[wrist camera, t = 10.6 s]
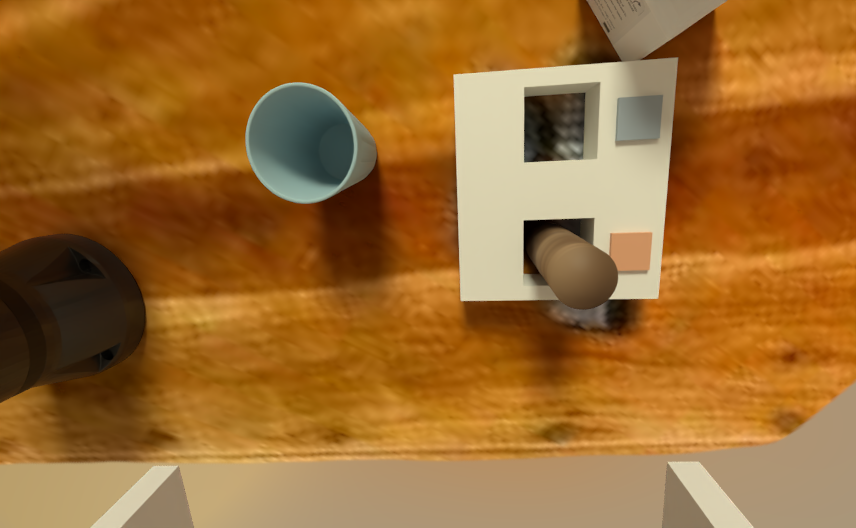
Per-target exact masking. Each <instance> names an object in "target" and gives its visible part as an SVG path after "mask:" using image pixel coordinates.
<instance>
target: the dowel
mask: <svg viewBox="0 0 856 528" xmlns="http://www.w3.org/2000/svg"><path fill="white" fill-rule="evenodd" d="M526 251H527V254H528V256H529V257H530V259H531V260H532V262H533V263H534V265H535V266H536V268H537V269H538V270H539V272H540V273H541V275H542V276H543V278H544V279H545V281H546V282H547V284H548V285H549V286H550V288H551V289H552V291H553V292H554V294H555V295H556V297H557V298H558V299H559V300H560V301H561V302H562V303H563V304H565V305H567V306H569V307H571V308H574V309H591V308H595V307H597V306H599V305H601V304H603V303H604V302H606V301H607V300H608V299H609V298H610V297H611V296H612V294H613V293H614V291H615V289H616V287H617V283H618V270H617V267H616V264H615V262H614V261H613V259H612V258H611V257H610V256H609V255H608V254H607V253H605V252H604V251H602V250H600V249H599V248H597V247H595V246H594V245H592V244H590V243H589V242H587V241H585V240H584V239H582V238H580V237H578V236H577V235H575V234H573V233H572V232H570V231H568V230H567V229H565V228H563V227H562V226H560V225H558V224H555V223H543V224H540V225H538V226H536V227H535V228H534V229H533V230H532V231H531V232H530V233H529V235H528V237H527V239H526Z"/></svg>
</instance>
